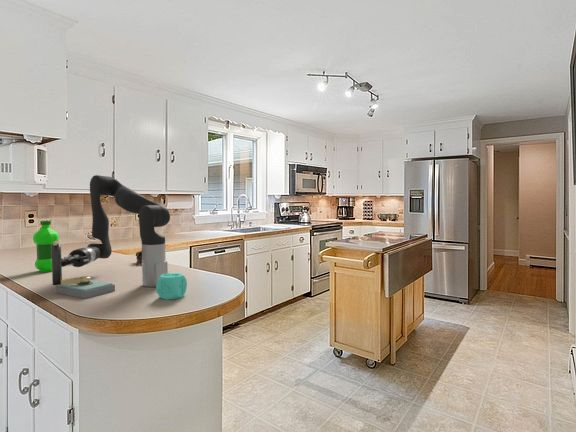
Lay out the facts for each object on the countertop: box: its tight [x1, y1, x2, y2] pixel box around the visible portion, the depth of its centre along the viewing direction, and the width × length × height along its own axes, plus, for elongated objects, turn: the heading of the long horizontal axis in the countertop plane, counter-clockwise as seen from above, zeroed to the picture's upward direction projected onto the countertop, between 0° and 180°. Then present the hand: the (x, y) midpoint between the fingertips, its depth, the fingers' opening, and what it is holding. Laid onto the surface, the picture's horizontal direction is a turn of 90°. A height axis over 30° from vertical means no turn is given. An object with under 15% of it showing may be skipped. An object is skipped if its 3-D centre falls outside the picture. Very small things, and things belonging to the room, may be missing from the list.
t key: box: [51, 240, 92, 286], centre depth 131 cm, size 12×6×16 cm, turn 118°
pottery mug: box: [135, 250, 142, 265], centre depth 193 cm, size 12×10×8 cm
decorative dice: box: [155, 272, 188, 301], centre depth 127 cm, size 8×8×8 cm
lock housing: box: [54, 279, 116, 299], centre depth 133 cm, size 18×12×3 cm, turn 63°
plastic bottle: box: [32, 220, 60, 273], centre depth 172 cm, size 10×10×25 cm
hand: (60, 264), depth 132 cm, fingers closed
